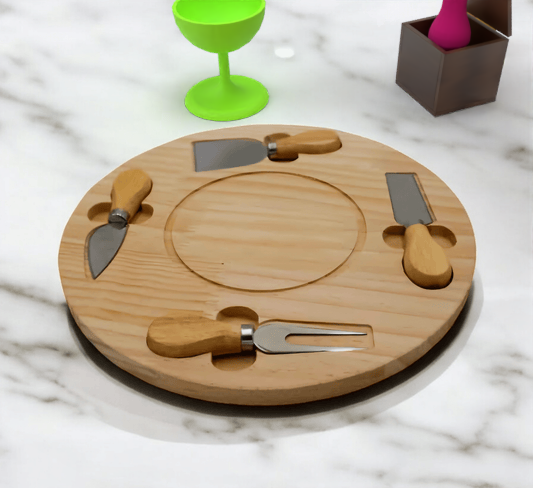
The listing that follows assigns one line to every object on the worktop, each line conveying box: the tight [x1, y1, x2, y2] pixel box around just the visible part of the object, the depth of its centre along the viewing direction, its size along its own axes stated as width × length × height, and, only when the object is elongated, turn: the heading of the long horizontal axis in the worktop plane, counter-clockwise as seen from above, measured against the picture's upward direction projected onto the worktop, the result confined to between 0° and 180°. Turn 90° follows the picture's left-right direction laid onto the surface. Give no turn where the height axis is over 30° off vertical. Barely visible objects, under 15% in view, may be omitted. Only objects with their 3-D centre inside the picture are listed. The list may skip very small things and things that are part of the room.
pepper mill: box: [428, 0, 471, 52], centre depth 110 cm, size 7×7×20 cm
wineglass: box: [171, 0, 270, 122], centre depth 117 cm, size 16×16×18 cm
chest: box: [395, 13, 510, 118], centre depth 118 cm, size 13×14×12 cm
